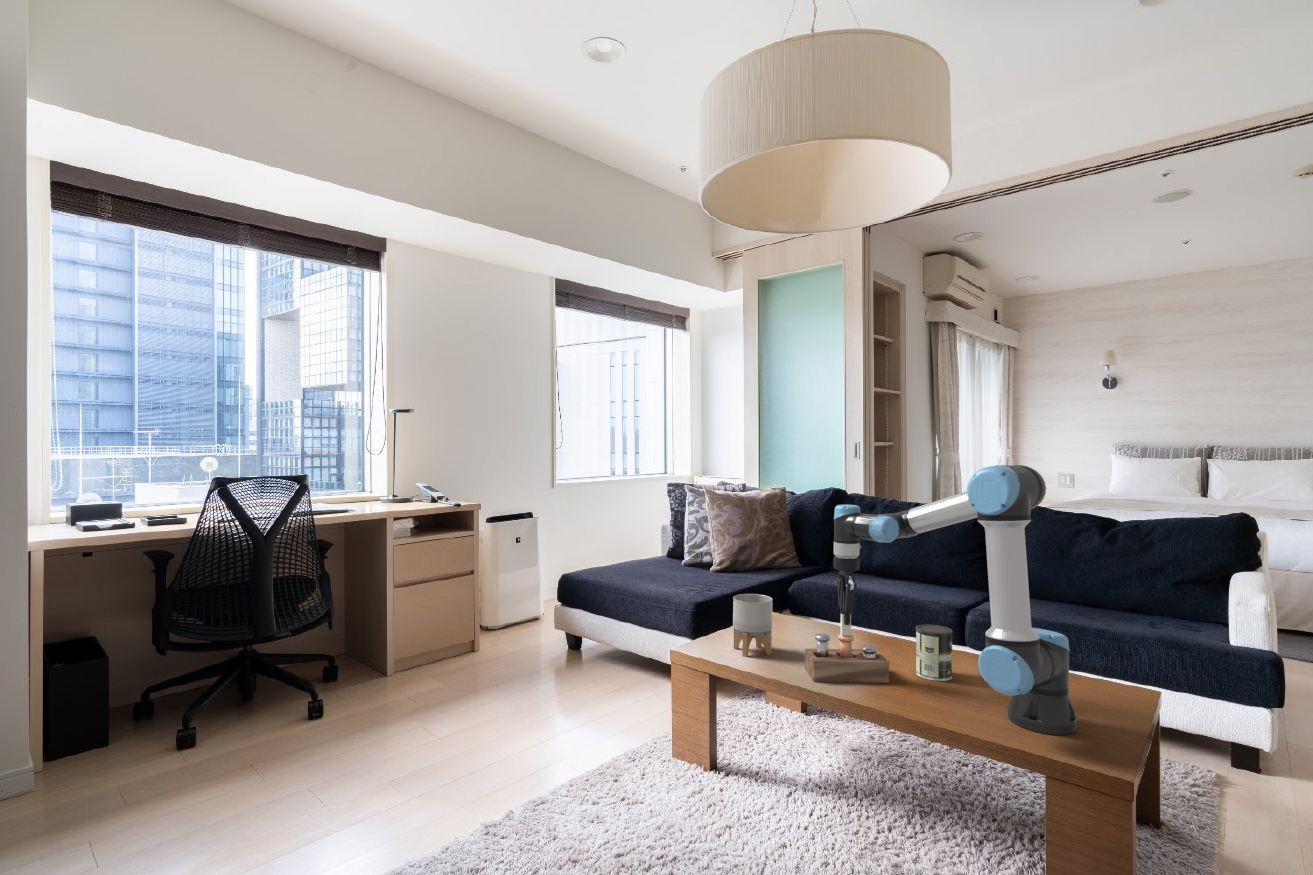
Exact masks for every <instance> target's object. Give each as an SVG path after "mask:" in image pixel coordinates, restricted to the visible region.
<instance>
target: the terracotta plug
mask: <svg viewBox="0 0 1313 875" xmlns="http://www.w3.org/2000/svg"><path fill="white" fill-rule="evenodd" d="M854 639H855V638H854V635H852V634H851V635H841V633H839V634H838V637H837V640H839V649H840V658H852V649H853V641H854Z"/></svg>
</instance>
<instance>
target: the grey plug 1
mask: <svg viewBox="0 0 1313 875" xmlns="http://www.w3.org/2000/svg"><path fill="white" fill-rule="evenodd" d="M814 639H815V640H816V649H817V657H827V658H828V649H829V641H831V635H830V634H827V633H816V634H814Z"/></svg>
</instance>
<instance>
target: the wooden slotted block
mask: <svg viewBox="0 0 1313 875" xmlns="http://www.w3.org/2000/svg"><path fill="white" fill-rule="evenodd" d="M804 670H805V671H806V673H807V674H808V676H809V677H810V678H811V680H812V681H813V682H814V683H888V684H889V683H890V661H888V659H887V658H886V657H884V656H883V654H881V653H880V652H879V651H878V650H877V653H875V658H863V652H862V651H861V648H859V649H858V648H852V658H840V648H828V658H827V657H817V648H804Z"/></svg>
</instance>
